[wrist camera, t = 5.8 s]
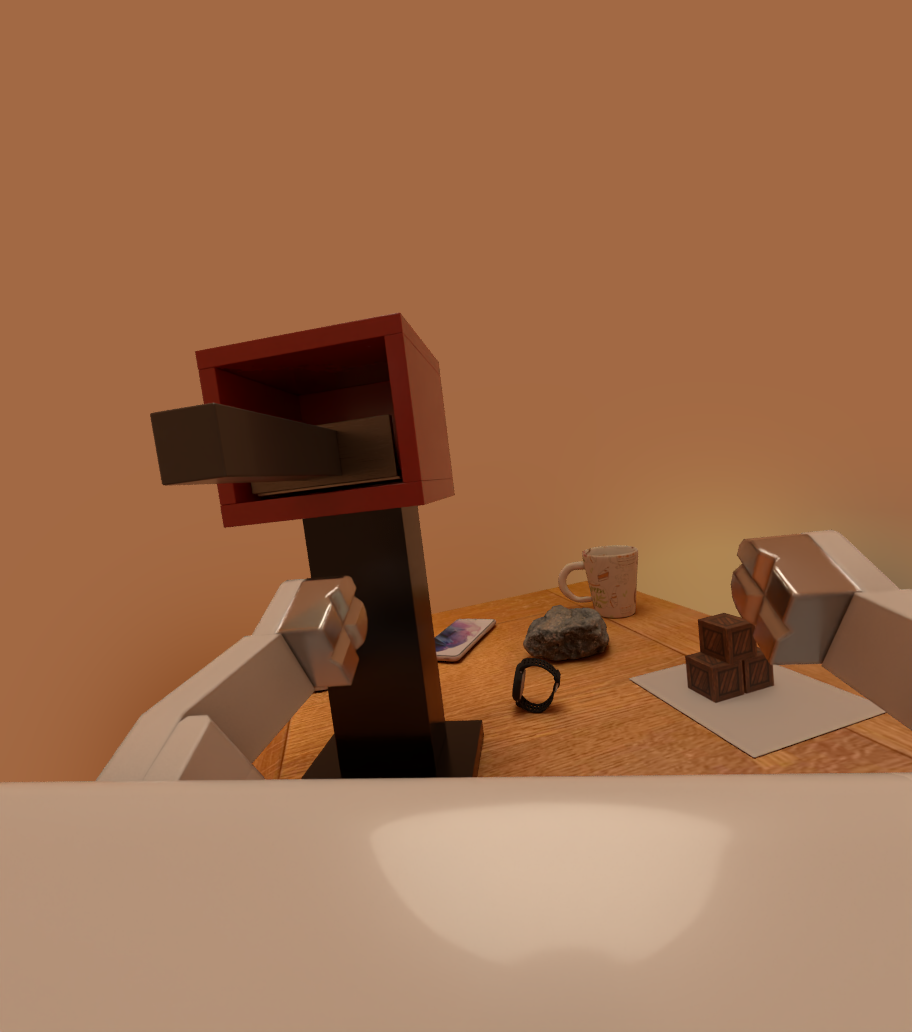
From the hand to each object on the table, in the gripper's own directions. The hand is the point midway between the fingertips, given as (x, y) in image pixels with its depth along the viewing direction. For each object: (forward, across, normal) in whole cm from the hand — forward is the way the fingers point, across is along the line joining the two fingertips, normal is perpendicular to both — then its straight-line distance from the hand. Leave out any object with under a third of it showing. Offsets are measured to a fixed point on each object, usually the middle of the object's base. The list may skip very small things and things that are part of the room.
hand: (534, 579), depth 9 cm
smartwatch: (+18, +1, +35) cm, 40 cm away
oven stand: (+9, +13, +30) cm, 34 cm away
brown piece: (+16, +13, +6) cm, 22 cm away
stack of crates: (+20, -19, +36) cm, 45 cm away
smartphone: (+35, +12, +45) cm, 59 cm away
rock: (+30, -3, +42) cm, 52 cm away
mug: (+43, -10, +50) cm, 66 cm away
